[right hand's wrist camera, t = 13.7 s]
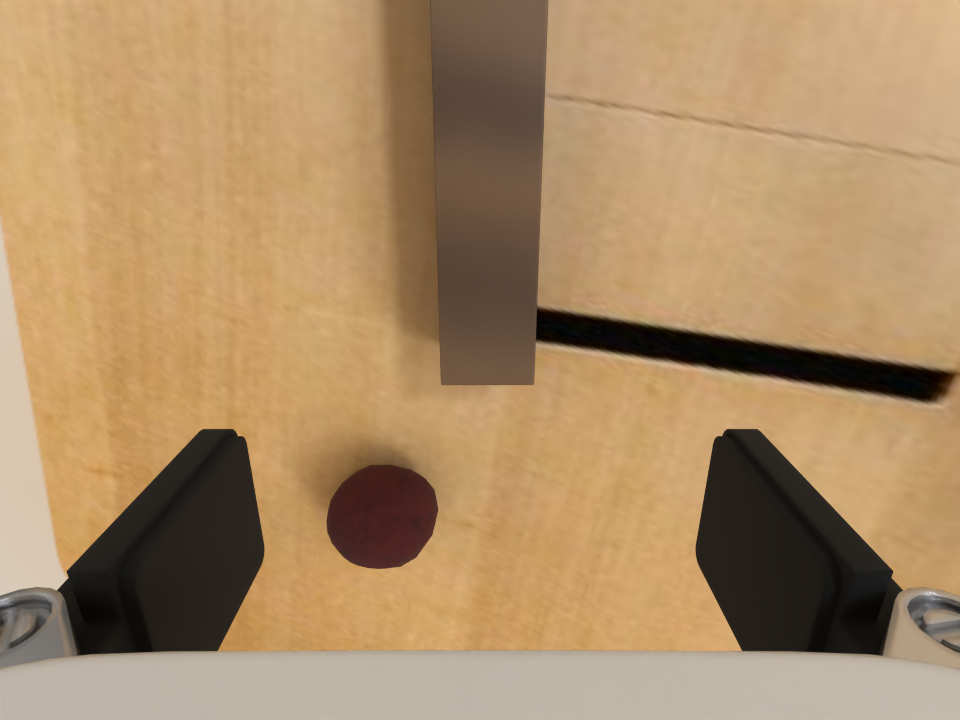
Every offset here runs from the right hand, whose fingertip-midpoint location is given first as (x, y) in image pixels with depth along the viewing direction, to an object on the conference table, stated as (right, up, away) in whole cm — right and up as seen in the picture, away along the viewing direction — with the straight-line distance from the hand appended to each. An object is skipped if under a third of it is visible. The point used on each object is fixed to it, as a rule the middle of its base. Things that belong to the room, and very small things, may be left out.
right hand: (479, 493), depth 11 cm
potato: (-7, -7, +32) cm, 34 cm away
